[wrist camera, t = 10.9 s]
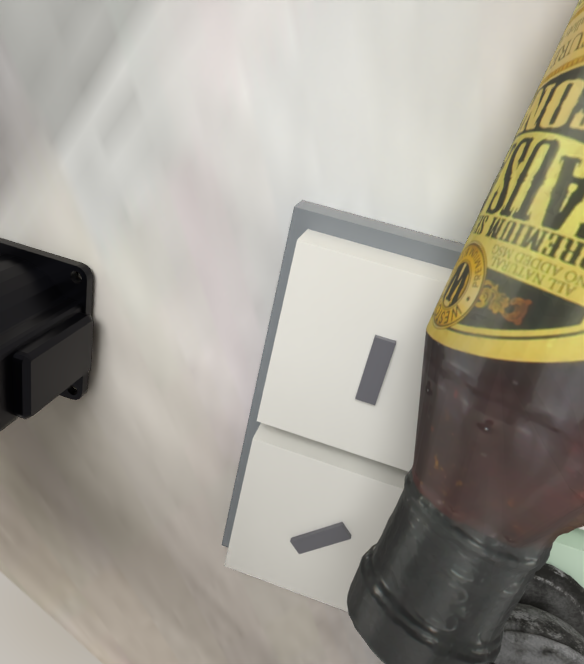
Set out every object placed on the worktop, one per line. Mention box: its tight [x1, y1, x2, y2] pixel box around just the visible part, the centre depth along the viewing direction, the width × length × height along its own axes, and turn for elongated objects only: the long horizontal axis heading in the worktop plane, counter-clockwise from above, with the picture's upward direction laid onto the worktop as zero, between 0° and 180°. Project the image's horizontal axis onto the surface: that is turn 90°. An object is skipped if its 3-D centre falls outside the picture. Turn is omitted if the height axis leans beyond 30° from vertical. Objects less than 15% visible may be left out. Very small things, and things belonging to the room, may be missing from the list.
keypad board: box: [222, 200, 584, 612], centre depth 20 cm, size 16×16×3 cm
